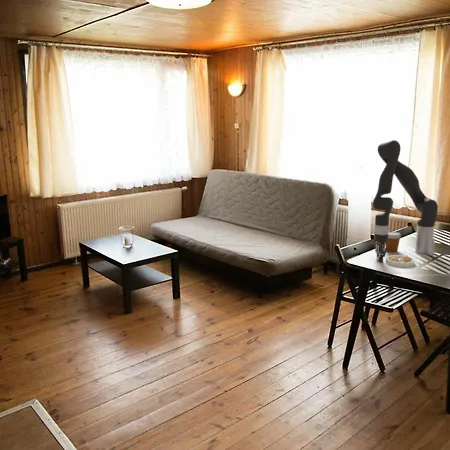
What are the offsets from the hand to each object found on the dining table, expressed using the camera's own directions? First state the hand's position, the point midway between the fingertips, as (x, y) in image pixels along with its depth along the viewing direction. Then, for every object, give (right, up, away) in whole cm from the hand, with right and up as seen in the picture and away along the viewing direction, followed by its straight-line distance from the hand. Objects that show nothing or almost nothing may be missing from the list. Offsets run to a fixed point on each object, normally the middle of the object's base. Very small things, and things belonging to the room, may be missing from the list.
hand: (379, 261), depth 265 cm
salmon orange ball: (+14, 0, -3) cm, 14 cm away
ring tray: (+10, -1, -4) cm, 11 cm away
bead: (+6, 0, -5) cm, 8 cm away
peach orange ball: (0, 0, 0) cm, 0 cm away
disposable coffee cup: (+13, +4, +18) cm, 23 cm away
